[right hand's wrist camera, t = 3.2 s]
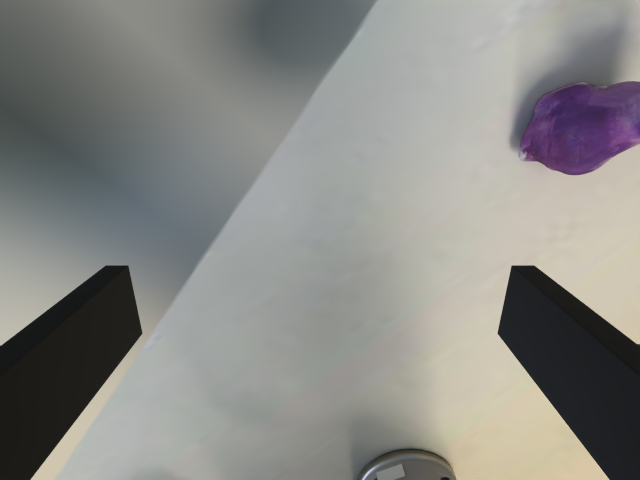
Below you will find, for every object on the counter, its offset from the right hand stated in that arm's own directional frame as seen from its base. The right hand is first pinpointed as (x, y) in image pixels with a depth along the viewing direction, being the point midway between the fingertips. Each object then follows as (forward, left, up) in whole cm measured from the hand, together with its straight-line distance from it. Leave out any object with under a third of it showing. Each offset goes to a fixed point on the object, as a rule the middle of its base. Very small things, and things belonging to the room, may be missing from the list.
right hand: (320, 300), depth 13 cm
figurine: (+5, -25, -28) cm, 38 cm away
